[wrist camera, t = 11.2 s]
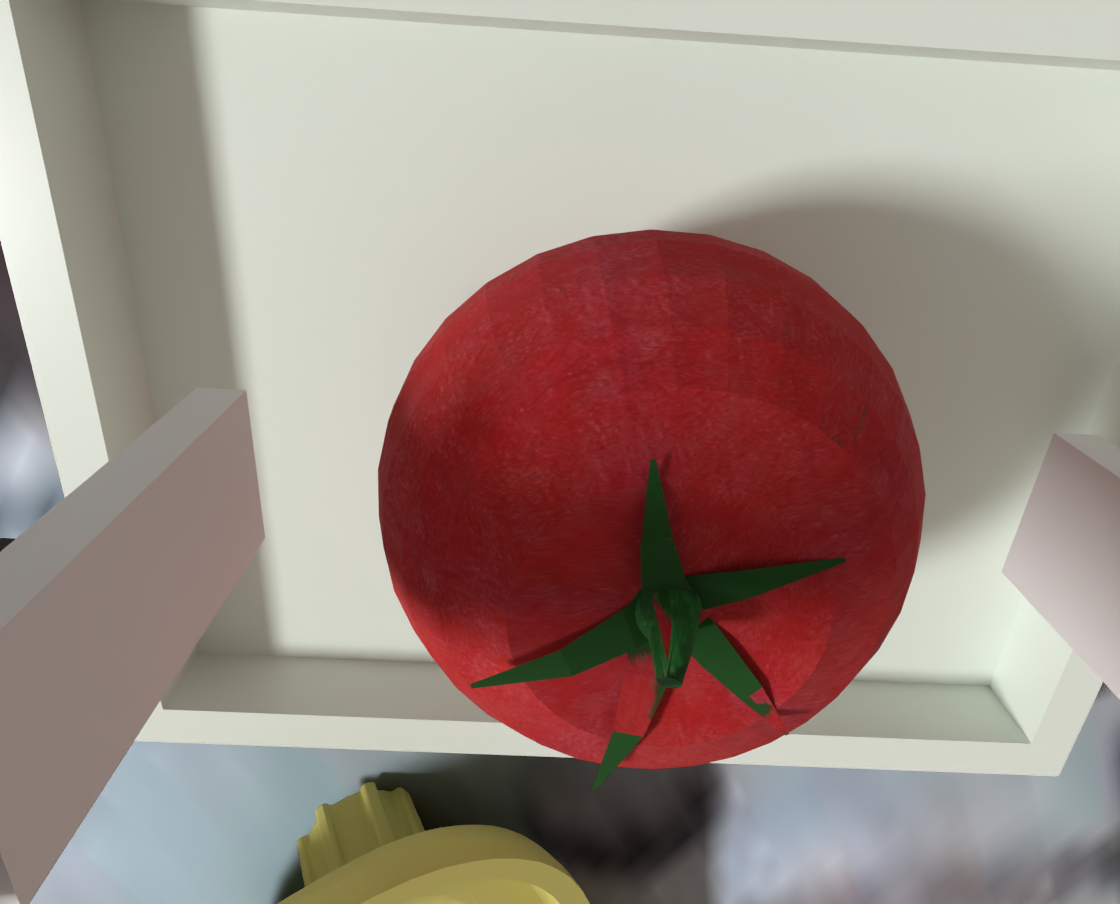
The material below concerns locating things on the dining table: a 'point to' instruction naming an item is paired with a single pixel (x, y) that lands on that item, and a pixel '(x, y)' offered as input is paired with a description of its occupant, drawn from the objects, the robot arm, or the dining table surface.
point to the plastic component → (421, 859)
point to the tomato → (651, 499)
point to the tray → (546, 223)
